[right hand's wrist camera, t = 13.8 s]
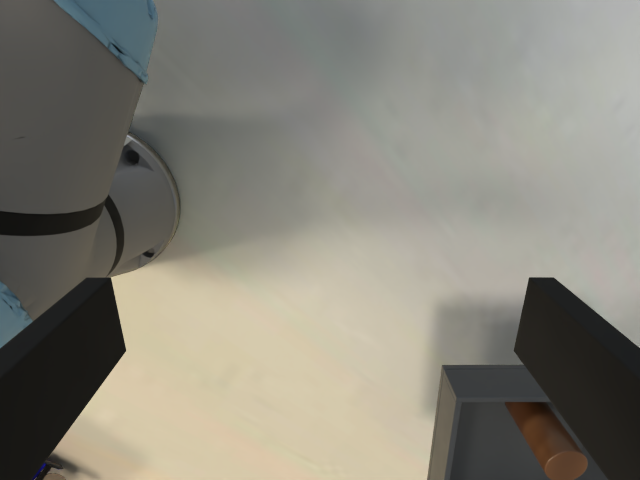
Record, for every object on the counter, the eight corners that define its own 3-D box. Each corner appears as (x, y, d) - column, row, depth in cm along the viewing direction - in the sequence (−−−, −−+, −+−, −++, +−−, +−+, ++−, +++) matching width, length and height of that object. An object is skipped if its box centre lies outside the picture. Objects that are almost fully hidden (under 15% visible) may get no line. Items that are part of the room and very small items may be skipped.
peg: (502, 413, 37) (541, 482, 31) (507, 386, 36) (548, 451, 30) (536, 412, 37) (583, 481, 31) (542, 385, 36) (592, 450, 30)
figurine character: (86, 454, 55) (-28, 410, 50) (59, 511, 49) (-76, 467, 44) (64, 481, 57) (-48, 441, 52) (35, 539, 50) (-98, 500, 46)
